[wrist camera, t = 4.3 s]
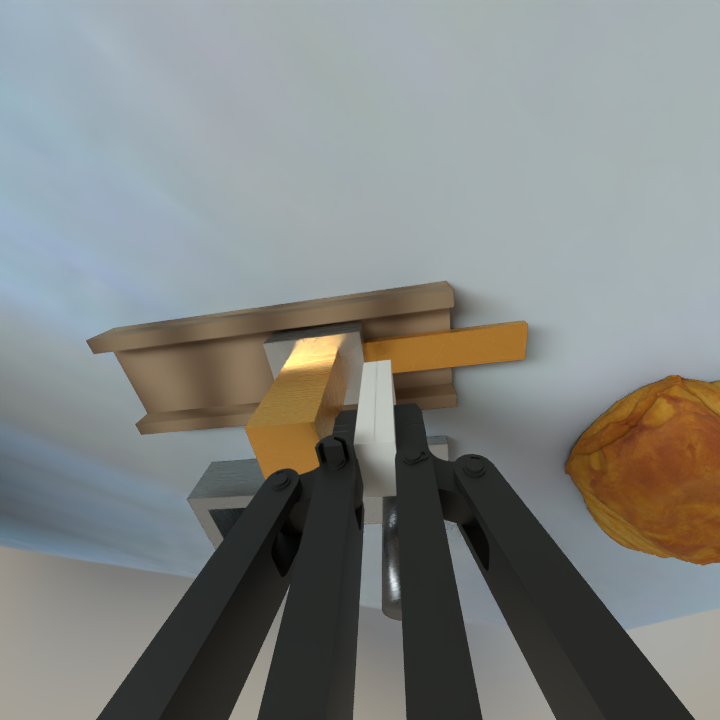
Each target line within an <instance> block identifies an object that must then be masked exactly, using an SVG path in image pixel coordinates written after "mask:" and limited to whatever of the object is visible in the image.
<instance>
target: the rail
mask: <svg viewBox="0 0 720 720" xmlns="http://www.w3.org/2000/svg"><path fill="white" fill-rule="evenodd" d="M450 307H454V290H453V289H452V287H451V286H450V285H449V284H448V283H447V282H446V281H443V282H436V283H429V284H422V285H415V286H408V287H401V288H394V289H386V290H379V291H372V292H365V293H358V294H351V295H344V296H337V297H330V298H323V299H316V300H309V301H302V302H295V303H288V304H281V305H274V306H267V307H259V308H252V309H245V310H238V311H231V312H224V313H217V314H210V315H203V316H196V317H189V318H182V319H175V320H168V321H161V322H154V323H147V324H139V325H132V326H125V327H118V328H113V329H111V330H109V331H106V332H104V333H102V334H100V335H97V336H95V337H93V338H91V339H88V340H86V342H87V343H88V345H89V347H90V348H91V350H92V352H93V353H94V354H98V353H105V352H114V354H115V355H116V357H117V359H118V361H119V363H120V364H121V366H122V368H123V370H124V372H125V373H126V375H127V377H128V379H129V381H130V382H131V384H132V386H133V388H134V390H135V391H136V393H137V395H138V397H139V399H140V400H141V402H142V404H143V406H144V408H145V409H146V411H147V413H148V414H147V415H145V416H144V417H143V418H142V419H141V420H140V421H138V422H137V423H136V424H135V425H136V427H137V428H138V430H139V432H140V433H141V435H142V434H154V433H165V432H176V431H187V430H199V429H210V428H221V427H232V426H244V425H247V423H248V422H249V420H250V419H251V417H252V415H253V414H254V412H255V411H256V409H257V408H258V406H259V404H260V403H261V401H262V400H263V398H264V397H265V395H266V393H267V392H268V390H269V389H270V387H271V386H272V384H273V382H274V381H275V380H274V377H273V374H272V371H271V368H270V364H269V361H268V358H267V355H266V352H265V349H264V346H263V343H264V342H265V341H266V340H267V339H268V338H269V337H270V335H271V334H272V333H273V332H279V331H286V330H294V329H302V328H310V327H317V326H325V325H333V324H340V323H348V322H356V321H362V327H363V333H364V340H367V339H375V338H384V337H392V336H400V335H408V334H417V333H425V332H433V331H441V330H450ZM392 375H393V383H394V390H395V398H396V405H401V404H411V403H416V404H417V405H418V406H419V408H420V409H421V410H424V409H435V408H446V407H457V395H456V392H455V389H454V387H453V384H452V367H447V368H438V369H429V370H419V371H410V372H400V373H392ZM356 409H358V404H350V405H343V410H342V411H345V410H356Z"/></svg>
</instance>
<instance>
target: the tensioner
mask: <svg viewBox="0 0 720 720" xmlns="http://www.w3.org/2000/svg"><path fill="white" fill-rule="evenodd" d="M527 329H528V323H526V322H525V321H516V322H507V323H499V324H491V325H483V326H474V327H466V328H458V329H450V330H441V331H433V332H425V333H417V334H408V335H400V336H392V337H384V338H375V339H367V340H364V333H363V327H362V321H356V322H348V323H340V324H333V325H325V326H317V327H310V328H302V329H294V330H286V331H279V332H273V333H272V334H271V335H270V337H269V338H268V339H267V340H266V341H265V342H264V343H263V346H264V349H265V352H266V355H267V358H268V361H269V364H270V368H271V371H272V374H273V377H274V380H275V381H274V382H273V384H272V386H271V387H270V389H269V390H268V392H267V393H266V395H265V397H264V398H263V400H262V401H261V403H260V404H259V406H258V408H257V409H256V411H255V412H254V414H253V415H252V417H251V419H250V420H249V422H248V423H247V425H246V426H245V430H246V433H247V435H248V438H249V440H250V443H251V445H252V448H253V450H254V453H255V455H256V458H257V460H258V463H259V465H260V468H261V470H262V473H263V475H264V478H265V480H266V479H267V478H268V477H269V476H270V475H271V474H272V473H274V472H276V471H278V470H281V469H285V468H291V469H293V470H295V471H296V472H297V473H298V474H299V475H300V474H303V473H306V472H309V471H312V470H314V469H316V468H317V467H319V465H320V464H319V461H318V457H317V454H316V451H315V446H316V444H317V443H318V442H319V441H320V440H321V439H322V438H324V437H326V436H329V435H332V433H333V427H334V423H335V418H336V417H337V416H338V414H339V413H340V412H341V411H342V410H343V405H350V404H359V396H360V388H361V380H362V372H363V364H364V363H366V362H374V361H383V360H391V367H392V373H400V372H410V371H419V370H429V369H438V368H447V367H457V366H466V365H476V364H485V363H495V362H504V361H514V360H523V359H525V353H526V341H527Z"/></svg>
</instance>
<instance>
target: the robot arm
mask: <svg viewBox="0 0 720 720" xmlns="http://www.w3.org/2000/svg"><path fill="white" fill-rule="evenodd" d="M315 451H316V454H317V457H318V461H319V464H320V465H319V467H317V468H316V469H314V470H312V471H309V472H306V473H303V474H300V475H299V474H298V473H297V472H296V471H295V470H293V469H291V468H285V469H281V470H278V471H276V472H274V473H272V474H271V475H270V476H269V477H268V478H267V479H266V480H265V482H264V483H263V484H262V486H261V487H260V489H259V490H258V491H257V493H256V494H255V496H254V497H253V499H252V500H251V501H250V503H249V504H248V506H247V507H246V508H245V510H244V511H243V513H242V514H241V516H240V517H239V518H238V520H237V521H236V523H235V524H234V525H233V527H232V528H231V530H230V531H229V533H228V534H227V535H226V537H225V538H224V540H223V541H222V542H221V544H220V545H219V547H218V548H217V549H216V551H215V552H214V554H213V555H212V557H211V558H210V559H209V561H208V562H207V564H206V565H205V566H204V568H203V569H202V571H201V572H200V574H199V575H198V576H197V578H196V579H195V581H194V582H193V583H192V585H191V586H190V588H189V589H188V591H187V592H186V593H185V595H184V596H183V598H182V599H181V600H180V602H179V603H178V605H177V606H176V607H175V609H174V610H173V612H172V613H171V615H170V616H169V617H168V619H167V620H166V622H165V623H164V624H163V626H162V627H161V629H160V630H159V632H158V633H157V634H156V636H155V637H154V639H153V640H152V641H151V643H150V644H149V646H148V647H147V649H146V650H145V652H144V653H143V654H142V656H141V657H140V658H139V660H138V661H137V663H136V664H135V666H134V667H133V668H132V670H131V671H130V673H129V674H128V675H127V677H126V678H125V680H124V681H123V682H122V684H121V685H120V687H119V688H118V690H117V691H116V693H115V694H114V695H113V697H112V698H111V699H110V701H109V702H108V704H107V705H106V707H105V708H104V710H103V711H102V712H101V714H100V715H99V716H98V718H97V719H96V720H228V719H229V717H230V715H231V713H232V710H233V708H234V706H235V704H236V702H237V699H238V697H239V695H240V693H241V690H242V688H243V686H244V684H245V682H246V680H247V678H248V675H249V673H250V671H251V669H252V667H253V664H254V662H255V660H256V658H257V656H258V653H259V651H260V649H261V647H262V644H263V642H264V640H265V638H266V636H267V633H268V631H269V629H270V627H271V625H272V622H273V620H274V618H275V616H276V614H277V612H278V609H279V607H280V605H281V603H282V600H283V598H284V596H285V594H286V592H287V590H288V588H289V585H290V588H289V592H288V596H287V600H286V605H285V609H284V612H283V617H282V620H281V624H280V629H279V633H278V637H277V641H276V645H275V649H274V653H273V658H272V662H271V666H270V670H269V674H268V678H267V682H266V686H265V690H264V694H263V698H262V702H261V706H260V711H259V715H258V719H257V720H353V705H354V688H355V687H354V686H355V671H356V653H357V652H356V651H357V635H358V618H359V601H360V583H361V565H362V548H363V530H364V513H365V509H364V504H363V491H364V495H365V498H367V497H385V496H396V498H397V519H398V541H399V563H400V585H401V607H402V629H403V651H404V670H405V671H404V672H405V694H406V717H407V720H482V715H481V709H480V704H479V699H478V694H477V688H476V684H475V678H474V673H473V668H472V663H471V657H470V653H469V647H468V642H467V637H466V632H465V627H464V621H463V616H462V611H461V606H460V601H459V596H458V591H457V585H456V580H455V575H454V570H453V565H452V560H451V555H450V549H449V544H448V539H447V534H446V529H445V524H444V520H447V521H451V522H455V523H457V526H458V528H459V530H460V532H461V534H462V536H463V538H464V540H465V542H466V544H467V546H468V547H469V549H470V551H471V553H472V555H473V557H474V559H475V561H476V563H477V565H478V567H479V569H480V571H481V573H482V575H483V577H484V579H485V581H486V583H487V585H488V587H489V589H490V591H491V593H492V594H493V596H494V598H495V600H496V602H497V604H498V606H499V608H500V610H501V612H502V614H503V616H504V618H505V620H506V622H507V624H508V626H509V628H510V630H511V632H512V634H513V636H514V637H515V640H516V641H517V643H518V645H519V647H520V649H521V651H522V653H523V655H524V657H525V659H526V661H527V663H528V665H529V667H530V669H531V671H532V673H533V675H534V677H535V679H536V681H537V683H538V685H539V687H540V688H541V690H542V692H543V694H544V696H545V698H546V700H547V702H548V704H549V706H550V708H551V710H552V712H553V714H554V716H555V718H556V720H695V719H694V718H693V716H692V715H691V714H690V713H689V711H688V710H687V709H686V708H685V706H684V705H683V704H682V703H681V701H680V700H679V699H678V697H677V696H676V695H675V694H674V692H673V691H672V690H671V689H670V687H669V686H668V685H667V683H666V682H665V681H664V680H663V678H662V677H661V676H660V675H659V673H658V672H657V671H656V670H655V668H654V667H653V666H652V665H651V663H650V662H649V661H648V659H647V658H646V657H645V656H644V654H643V653H642V652H641V651H640V649H639V648H638V647H637V645H636V644H635V643H634V642H633V641H632V639H631V638H630V637H629V635H628V634H627V633H626V632H625V630H624V629H623V628H622V626H621V625H620V624H619V623H618V621H617V620H616V619H615V618H614V616H613V615H612V614H611V613H610V611H609V610H608V609H607V608H606V606H605V605H604V604H603V602H602V601H601V600H600V599H599V597H598V596H597V595H596V594H595V592H594V591H593V590H592V589H591V587H590V586H589V585H588V583H587V582H586V581H585V580H584V578H583V577H582V576H581V575H580V573H579V572H578V571H577V570H576V568H575V567H574V566H573V564H572V563H571V562H570V561H569V559H568V558H567V557H566V556H565V554H564V553H563V552H562V551H561V549H560V548H559V547H558V545H557V544H556V543H555V542H554V540H553V539H552V538H551V537H550V535H549V534H548V533H547V532H546V530H545V529H544V528H543V526H542V525H541V524H540V523H539V521H538V520H537V519H536V518H535V516H534V515H533V514H532V513H531V511H530V510H529V509H528V508H527V506H526V505H525V504H524V502H523V501H522V500H521V499H520V497H519V496H518V495H517V494H516V492H515V491H514V490H513V489H512V487H511V486H510V485H509V483H508V482H507V481H506V480H505V478H504V477H503V476H502V475H501V473H500V472H499V471H498V470H497V468H496V467H495V466H494V464H493V463H492V462H490V461H489V460H488V459H487V458H485V457H483V456H480V455H475V454H468V455H463V456H461V457H459V458H458V459H457V460H456V461H455V462H450V461H446V460H442V459H440V458H438V457H436V456H435V455H433V454H432V453H431V451H430V450H429V447H428V443H427V437H426V432H425V427H424V422H423V417H422V411H421V409H420V408H419V406H418V405H417V404H416V403H411V404H401V405H396V398H395V390H394V383H393V375H392V367H391V360H383V361H374V362H366V363H364V364H363V372H362V380H361V388H360V396H359V404H358V409H356V410H345V411H341V412H340V413H339V414H338V416H337V417H336V418H335V423H334V427H333V433H332V435H329V436H326V437H324V438H322V439H321V440H320V441H319V442H318V443H317V444H316V446H315Z"/></svg>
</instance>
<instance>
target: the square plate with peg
mask: <svg viewBox="0 0 720 720" xmlns="http://www.w3.org/2000/svg"><path fill="white" fill-rule="evenodd" d="M427 443H428V447H429V450H430V451H431V453H432V454H433V455H435V456H436V457H438V458H440V459H442V460H446V461H448V444H447V440H446V436H436V437H427ZM363 504H364V509H365V513H364V524H382V611H383V613H384V614H385V615H386V616H388V617H389V618H392V619H395V620H401V621H402V607H401V585H400V563H399V541H398V519H397V498H396V496H385V497H367V498H365V495H364V491H363ZM444 521H447V520H444Z"/></svg>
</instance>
